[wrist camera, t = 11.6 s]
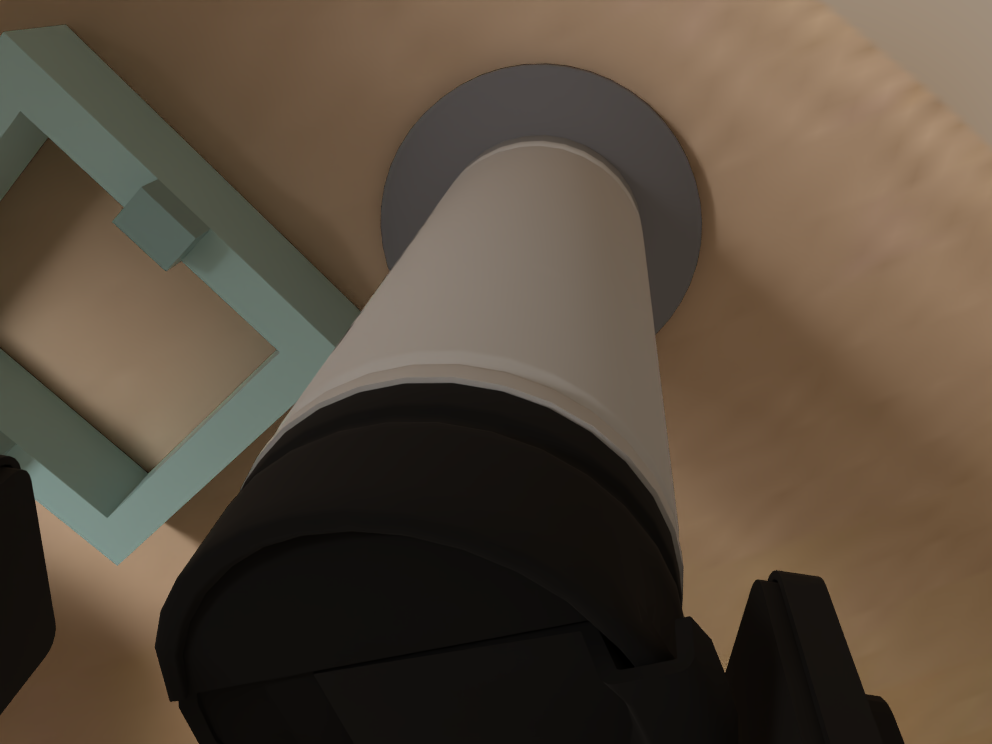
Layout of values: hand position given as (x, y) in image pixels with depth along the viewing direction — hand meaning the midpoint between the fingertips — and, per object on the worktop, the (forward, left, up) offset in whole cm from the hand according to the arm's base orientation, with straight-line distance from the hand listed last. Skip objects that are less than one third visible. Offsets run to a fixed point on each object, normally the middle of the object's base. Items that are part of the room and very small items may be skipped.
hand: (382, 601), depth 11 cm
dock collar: (-7, -13, -18) cm, 23 cm away
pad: (+1, 0, -18) cm, 18 cm away
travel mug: (+1, 0, -18) cm, 18 cm away
